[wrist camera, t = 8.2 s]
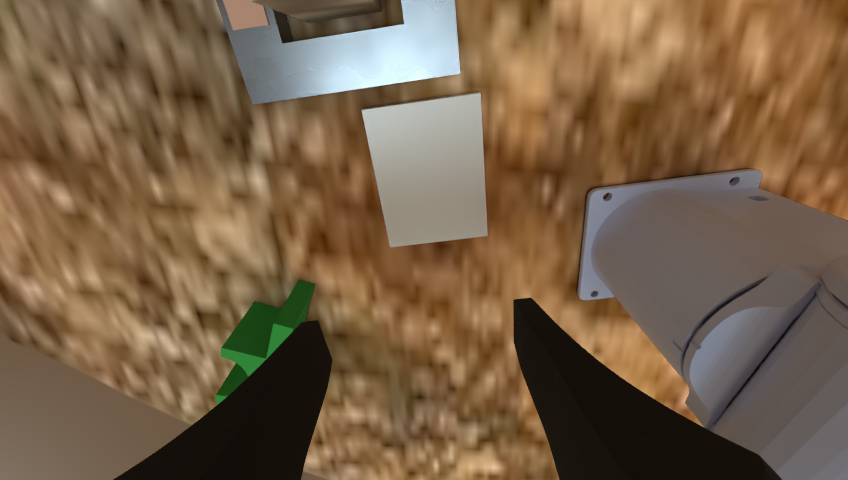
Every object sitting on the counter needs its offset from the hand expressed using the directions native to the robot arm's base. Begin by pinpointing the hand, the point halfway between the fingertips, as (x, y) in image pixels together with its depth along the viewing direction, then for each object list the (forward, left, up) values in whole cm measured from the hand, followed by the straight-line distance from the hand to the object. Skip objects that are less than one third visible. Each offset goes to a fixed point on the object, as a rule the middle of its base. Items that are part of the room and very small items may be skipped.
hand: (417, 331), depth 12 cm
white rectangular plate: (-1, -3, -9) cm, 10 cm away
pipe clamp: (+12, +8, -10) cm, 17 cm away
